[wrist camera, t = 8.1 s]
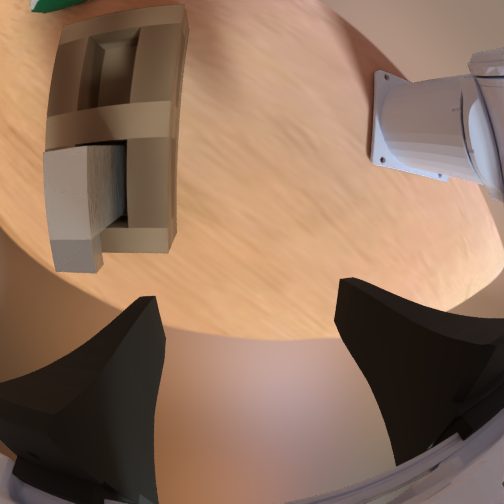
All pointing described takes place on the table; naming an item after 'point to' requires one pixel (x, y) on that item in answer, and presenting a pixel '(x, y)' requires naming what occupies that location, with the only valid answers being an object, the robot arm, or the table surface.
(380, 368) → the robot arm
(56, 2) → the green elongated piece
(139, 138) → the tan divided tray
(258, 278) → the table surface
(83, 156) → the white rectangular pillar
